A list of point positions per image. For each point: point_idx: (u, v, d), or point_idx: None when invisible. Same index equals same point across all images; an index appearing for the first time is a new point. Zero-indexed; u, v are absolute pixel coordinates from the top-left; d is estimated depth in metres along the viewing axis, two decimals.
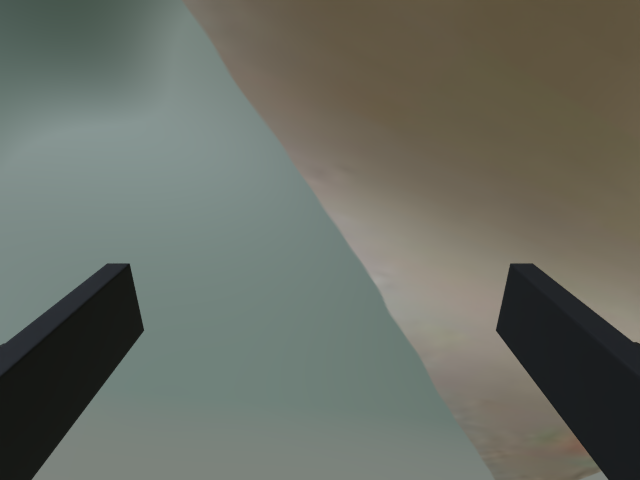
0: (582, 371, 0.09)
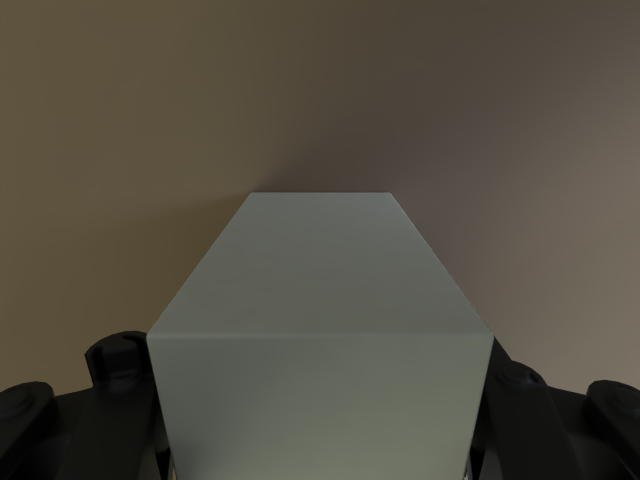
0: None
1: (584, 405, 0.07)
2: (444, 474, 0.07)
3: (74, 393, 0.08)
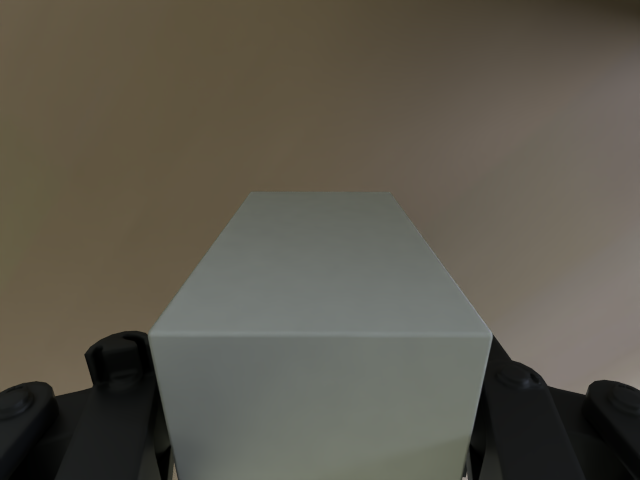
0: None
1: (584, 405, 0.07)
2: (443, 472, 0.07)
3: (74, 393, 0.08)
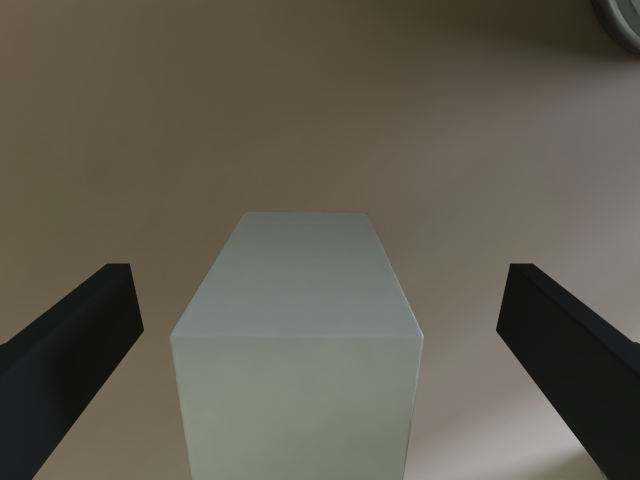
0: (582, 371, 0.09)
1: None
2: (392, 442, 0.09)
3: None
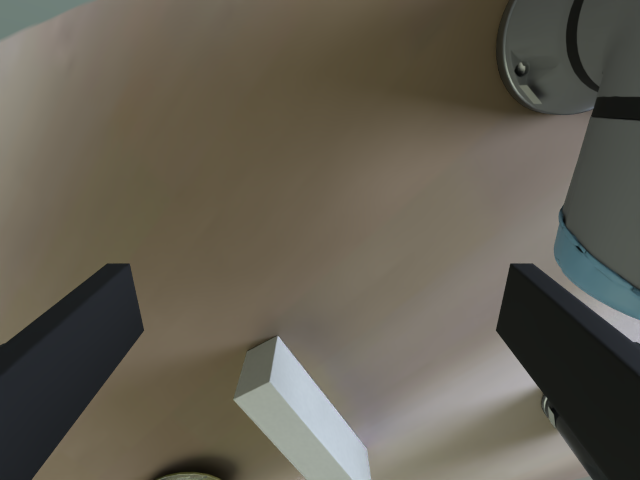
0: (582, 371, 0.09)
1: None
2: (281, 399, 0.44)
3: None
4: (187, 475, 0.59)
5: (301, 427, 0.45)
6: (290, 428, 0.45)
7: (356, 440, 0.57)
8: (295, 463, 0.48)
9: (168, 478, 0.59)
